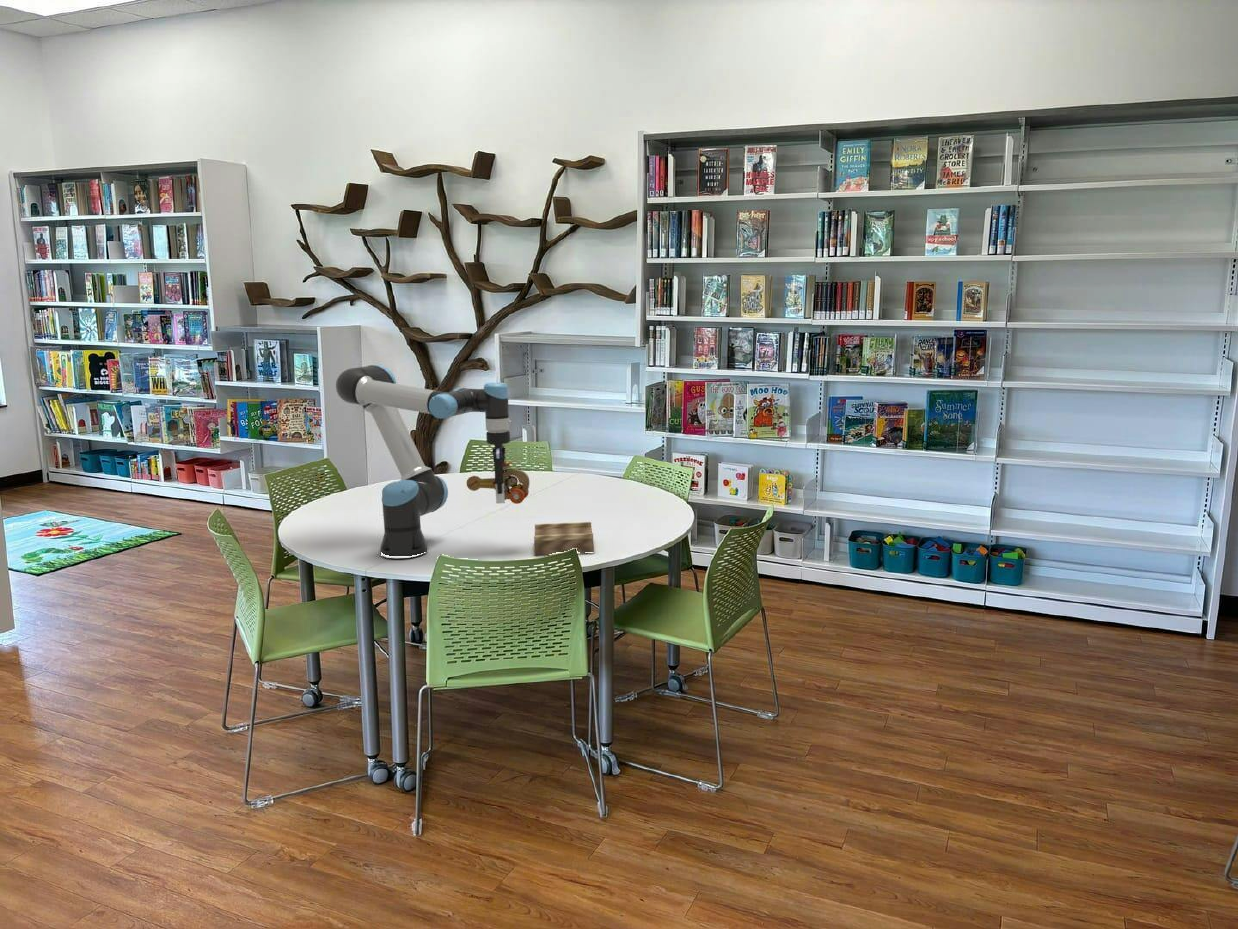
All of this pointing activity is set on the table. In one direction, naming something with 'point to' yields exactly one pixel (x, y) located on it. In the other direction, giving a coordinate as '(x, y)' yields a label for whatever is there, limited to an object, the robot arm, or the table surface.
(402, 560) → the table surface
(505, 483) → the toy helicopter
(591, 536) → the display stand
